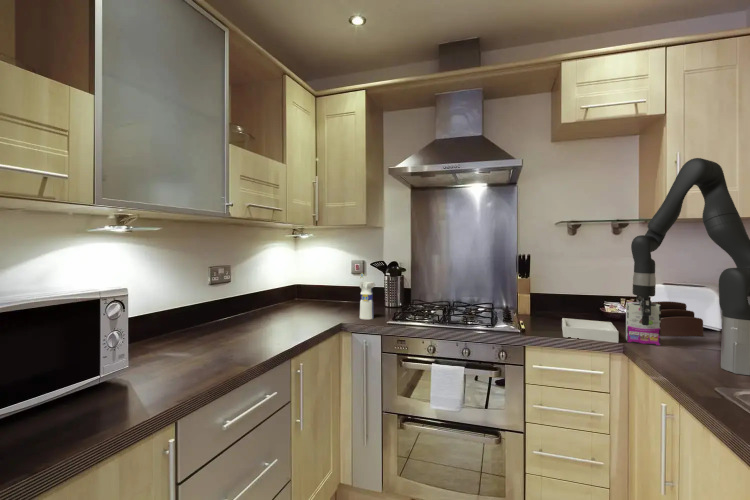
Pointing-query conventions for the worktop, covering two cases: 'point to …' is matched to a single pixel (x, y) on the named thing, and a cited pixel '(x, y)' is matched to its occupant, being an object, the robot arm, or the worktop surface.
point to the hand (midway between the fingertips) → (642, 322)
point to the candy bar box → (639, 331)
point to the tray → (589, 330)
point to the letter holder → (678, 320)
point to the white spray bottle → (366, 299)
